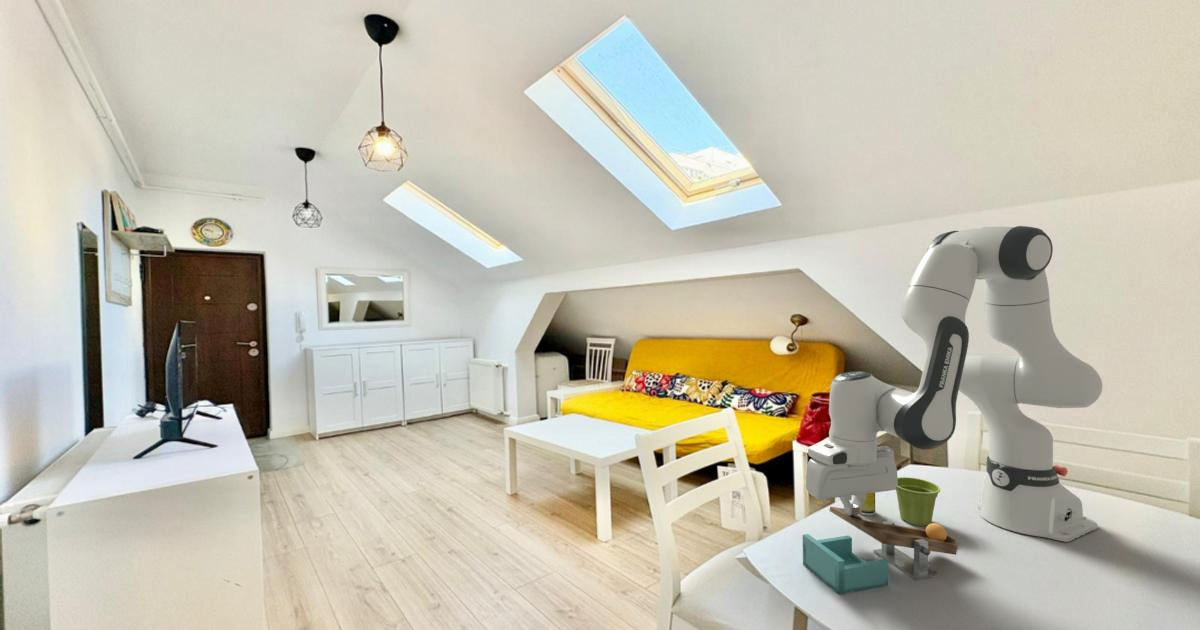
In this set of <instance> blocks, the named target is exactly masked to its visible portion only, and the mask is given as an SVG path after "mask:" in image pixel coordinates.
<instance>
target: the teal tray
mask: <svg viewBox="0 0 1200 630" xmlns="http://www.w3.org/2000/svg"><path fill="white" fill-rule="evenodd" d="M889 564H890V563H889V562H888V561H887V560H885V559H883V558H882V559H881V558H880V559H875V560H870V561H866V560H864V559H863V558H861V557H859V556H858V555H856V554H855V553H853V538H852V537H851V536H850V535H841V536H836V537H830V538H822V539H816V538H815V537H813V536H811V535H810V534H809V533H805V534H804V533H803V534H802V565H803V566H805V568H807V569H808V570H809V571H810V572H812V573H813V574H814V575H815V576H816V577H818V578H819V579H820V580H821V581H822V582H824V583H825V584H826V585H827V586H828V587H829V588H831V589H832V590H833V591H834V592H836V593H837V594H838V595H842V594H848V593H853V592H858V591H865V590H869V589H874V588H875V589H876V588H880V587H886V586H889V580H890V579H889V577H890V576H889V573H890V571H889V569H890V568H889Z"/></svg>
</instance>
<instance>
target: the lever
mask: <svg viewBox="0 0 1200 630" xmlns="http://www.w3.org/2000/svg"><path fill="white" fill-rule="evenodd" d="M829 512H831V513H832V514H833V515H835V516H837V517H839V518H840V519H842V520H843V521H845V522H847V523H848V524H850V525H852V526H854V527H855V528H856V529H858V530H860V531H862V532H863V533H865V534H866V535H867V536H869V537H871V538H873V539H874V540H876V541H877V542H879V543H881V545H882V544H888V545H895V546H897V547H903V548H908V549H914V540H918V539H924V540H926V541H927V542H928V549H929V550H930V552H934V553H941V554H949V555H955V556H956V555H957V552H958V549H959V548H958V547H959V544H957V543H956V541H957V539H956V538H954V537H952V536H950V535H948V534H947V538H946V540H945V541H937V540H931V539H930V538H929V537H928V536H927V534H926V529H921V528H915V527H909V526H901V525H898V524H896V525H891V524H885V523H882V522H878V521H872V520H868V519H867V518H865V517H864V516H863V517H862V516H861V515H860V514H857V515H850V516H848V515H847V514H845V513H844V507H843V508H842V507H836V506H829Z"/></svg>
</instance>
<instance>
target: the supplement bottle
mask: <svg viewBox="0 0 1200 630" xmlns="http://www.w3.org/2000/svg"><path fill="white" fill-rule="evenodd" d="M852 497H853V498H852V499H853V501H854V498H855V495H852ZM853 501H852V502H853ZM875 514H876V492H875V493H868V494H866V500H865V502H864V504H863V505H862V513H861V514H860V516H861V515H862V516H868V517H869V516H874V515H875Z"/></svg>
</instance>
